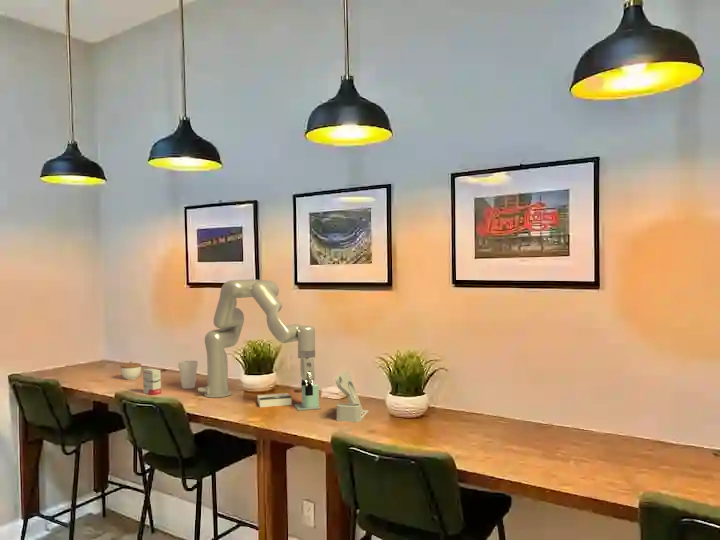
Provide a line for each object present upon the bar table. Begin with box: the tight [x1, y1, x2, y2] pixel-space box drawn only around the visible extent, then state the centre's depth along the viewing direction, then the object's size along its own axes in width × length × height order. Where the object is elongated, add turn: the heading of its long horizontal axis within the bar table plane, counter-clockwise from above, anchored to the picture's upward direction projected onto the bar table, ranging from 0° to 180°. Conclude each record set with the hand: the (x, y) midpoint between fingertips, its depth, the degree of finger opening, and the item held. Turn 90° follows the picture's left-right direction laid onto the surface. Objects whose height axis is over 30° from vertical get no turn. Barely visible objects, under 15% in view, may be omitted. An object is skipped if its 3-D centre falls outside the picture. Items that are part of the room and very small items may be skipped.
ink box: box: [142, 367, 162, 396], centre depth 295 cm, size 9×5×12 cm, turn 51°
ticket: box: [301, 384, 320, 407], centre depth 264 cm, size 7×2×9 cm, turn 105°
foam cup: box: [178, 359, 199, 389], centre depth 308 cm, size 10×9×13 cm
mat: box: [293, 403, 322, 412], centre depth 264 cm, size 10×10×1 cm
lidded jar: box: [120, 361, 142, 380], centre depth 333 cm, size 11×11×9 cm
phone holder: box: [334, 369, 369, 423], centre depth 248 cm, size 17×10×18 cm, turn 166°
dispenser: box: [257, 392, 292, 408], centre depth 272 cm, size 14×11×4 cm
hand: (307, 393), depth 264 cm, fingers open, 9 cm apart
